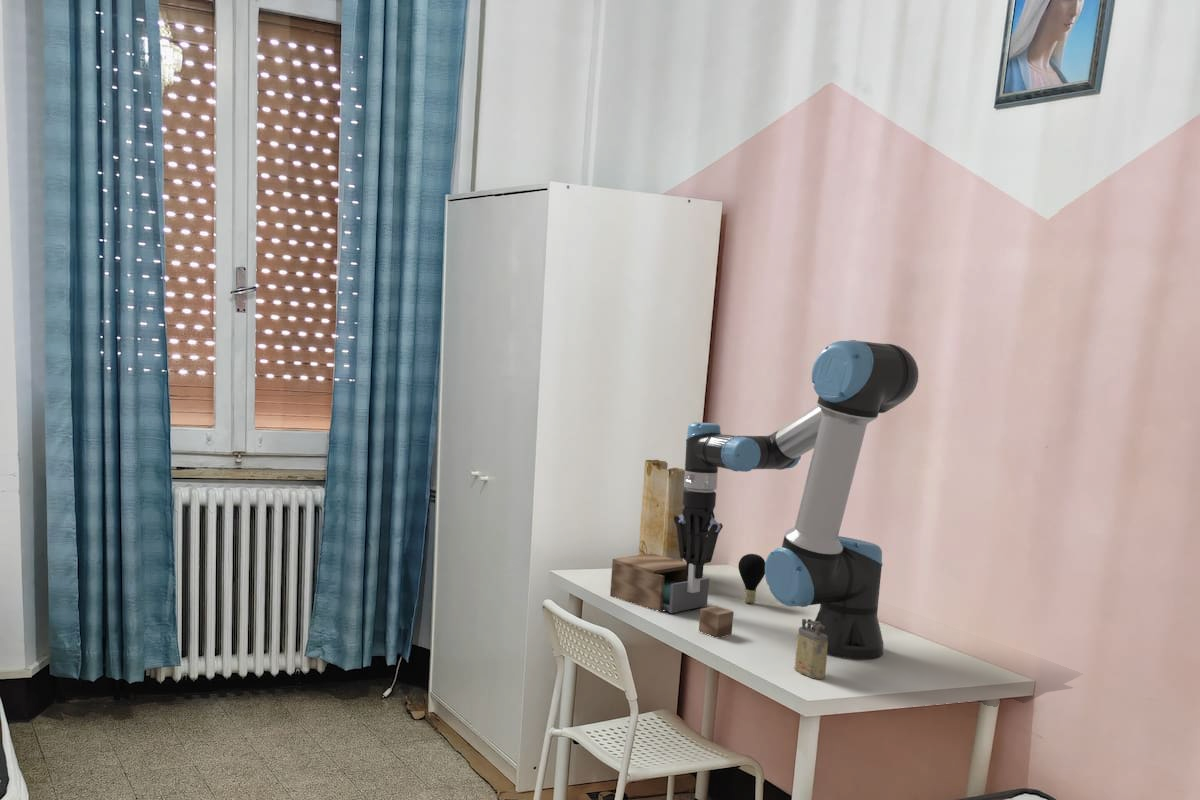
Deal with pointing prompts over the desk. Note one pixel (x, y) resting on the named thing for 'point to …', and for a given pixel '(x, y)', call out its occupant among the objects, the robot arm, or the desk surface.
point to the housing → (645, 578)
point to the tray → (686, 597)
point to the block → (716, 621)
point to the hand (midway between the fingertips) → (693, 591)
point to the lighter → (811, 650)
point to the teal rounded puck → (667, 591)
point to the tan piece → (661, 509)
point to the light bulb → (751, 574)
